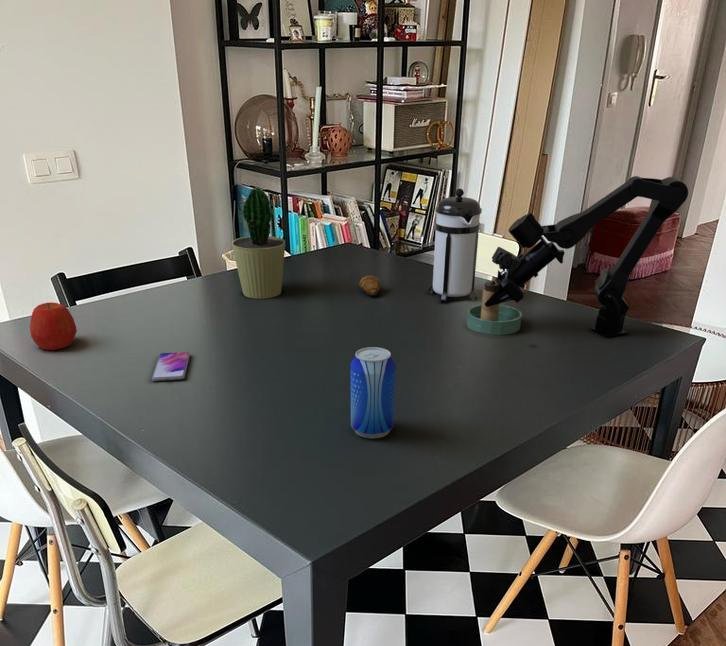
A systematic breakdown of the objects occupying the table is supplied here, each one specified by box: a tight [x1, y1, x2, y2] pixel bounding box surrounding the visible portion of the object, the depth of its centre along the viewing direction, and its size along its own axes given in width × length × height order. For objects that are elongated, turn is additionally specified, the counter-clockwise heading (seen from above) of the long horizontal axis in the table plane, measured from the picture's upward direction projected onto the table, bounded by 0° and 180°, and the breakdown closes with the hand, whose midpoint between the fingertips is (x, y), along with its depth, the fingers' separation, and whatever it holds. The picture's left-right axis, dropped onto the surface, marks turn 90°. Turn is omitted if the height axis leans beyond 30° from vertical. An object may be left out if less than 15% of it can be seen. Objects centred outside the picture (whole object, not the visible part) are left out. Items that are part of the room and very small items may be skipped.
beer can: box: [350, 346, 396, 439], centre depth 140 cm, size 8×8×16 cm
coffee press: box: [428, 188, 483, 304], centre depth 209 cm, size 17×16×30 cm
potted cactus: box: [231, 186, 286, 300], centre depth 210 cm, size 15×15×30 cm
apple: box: [29, 301, 78, 351], centre depth 179 cm, size 11×11×11 cm
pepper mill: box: [480, 280, 501, 321], centre depth 191 cm, size 5×5×12 cm
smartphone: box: [151, 351, 191, 382], centre depth 169 cm, size 7×1×15 cm
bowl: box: [466, 304, 523, 336], centre depth 193 cm, size 14×14×4 cm
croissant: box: [358, 274, 382, 298], centre depth 218 cm, size 14×7×5 cm, turn 10°
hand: (485, 302), depth 191 cm, fingers closed on pepper mill, 4 cm apart
